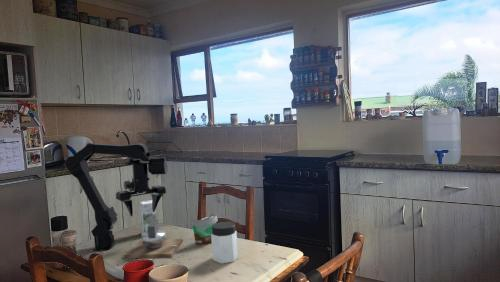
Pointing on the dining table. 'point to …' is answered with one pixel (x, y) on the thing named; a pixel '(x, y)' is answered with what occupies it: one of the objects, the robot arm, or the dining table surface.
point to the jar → (224, 242)
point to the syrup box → (146, 214)
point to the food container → (204, 229)
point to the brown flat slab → (154, 249)
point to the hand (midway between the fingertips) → (142, 213)
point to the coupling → (153, 234)
